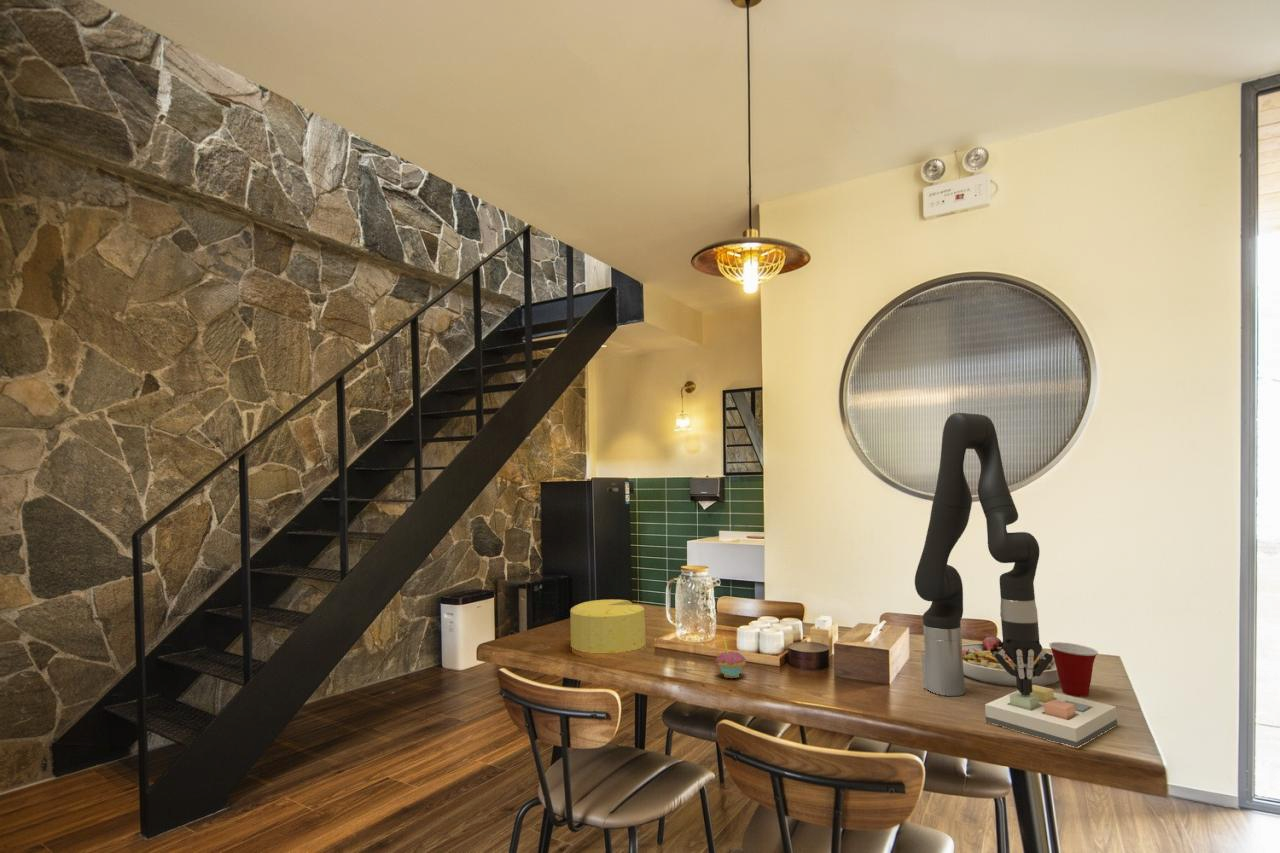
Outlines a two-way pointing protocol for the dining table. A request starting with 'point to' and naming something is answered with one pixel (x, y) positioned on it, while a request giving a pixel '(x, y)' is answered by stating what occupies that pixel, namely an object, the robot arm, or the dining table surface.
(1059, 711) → the key terracotta
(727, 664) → the cupcake
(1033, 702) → the key sage
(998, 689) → the dining table surface
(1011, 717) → the keypad board
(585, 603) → the cheese
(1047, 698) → the key mustard
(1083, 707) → the key slate
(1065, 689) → the plastic cup
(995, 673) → the bowl
